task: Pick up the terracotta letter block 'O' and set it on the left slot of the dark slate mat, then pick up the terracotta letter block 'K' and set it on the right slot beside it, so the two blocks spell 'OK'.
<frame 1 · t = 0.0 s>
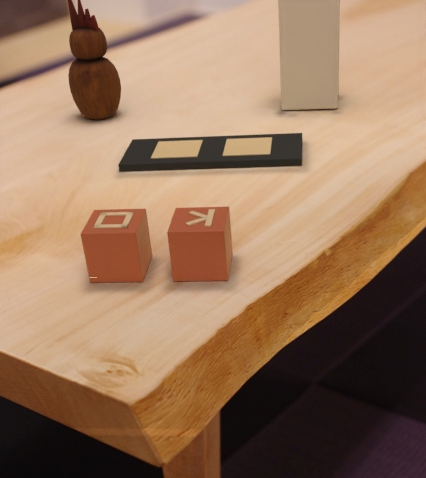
milk carton: (310, 103, 97), on the table
letter K: (203, 267, 62), on the table
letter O: (121, 268, 63), on the table
word mat: (212, 155, 84), on the table
wooden figurine: (99, 117, 99), on the table
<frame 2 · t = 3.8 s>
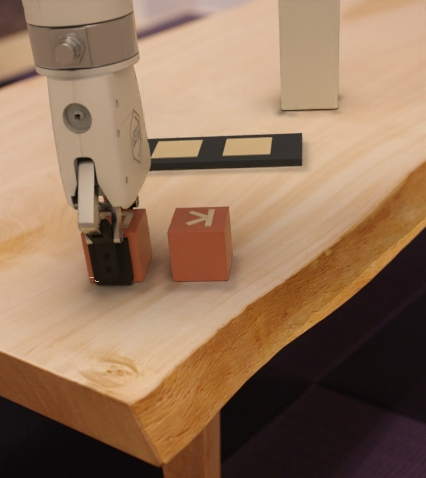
hand: (121, 265, 63), 0 cm above the table, tool pointing down, fingers closed on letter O, 4 cm apart
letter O: (121, 268, 63), on the table, touching gripper
everything else where it was.
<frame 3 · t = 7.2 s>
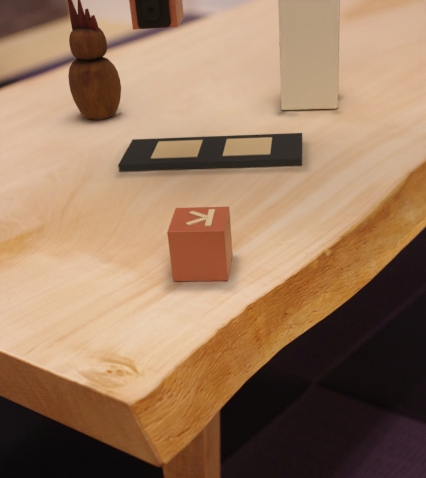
hand: (158, 19, 75), 15 cm above the table, tool pointing down, fingers closed on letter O, 4 cm apart
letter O: (158, 23, 75), point 15 cm above the table, touching gripper
everything else where it was.
when the fingers open (1 cm above the table, at t = 10.8 s): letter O stays where it is, resting on word mat.
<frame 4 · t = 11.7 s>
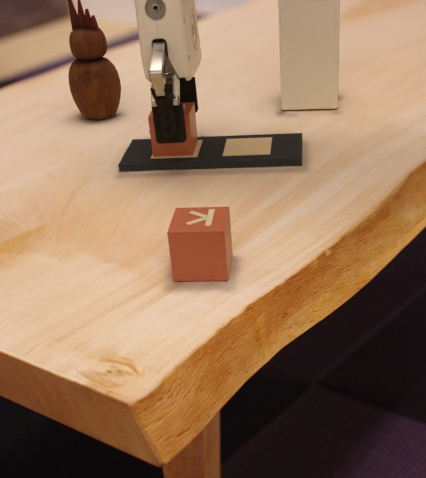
hand: (178, 126, 82), 3 cm above the table, tool pointing down, fingers open, 9 cm apart
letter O: (175, 148, 84), point 1 cm above the table, touching word mat
everything else where it was.
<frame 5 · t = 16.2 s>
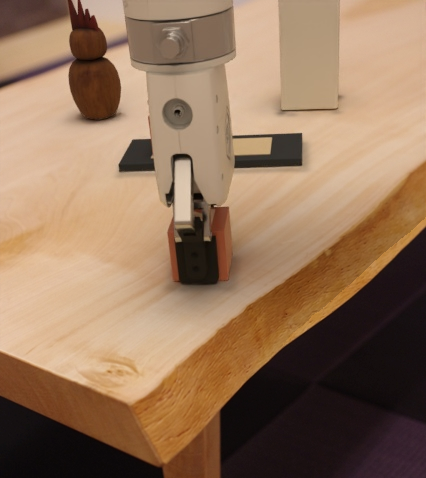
hand: (203, 263, 62), 0 cm above the table, tool pointing down, fingers closed on letter K, 4 cm apart
letter K: (203, 267, 62), on the table, touching gripper
everything else where it was.
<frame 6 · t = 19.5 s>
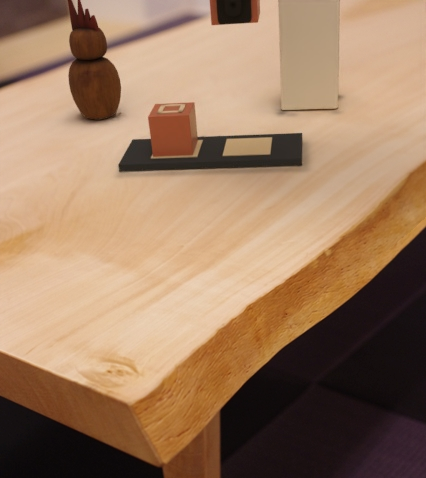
hand: (236, 15, 73), 15 cm above the table, tool pointing down, fingers closed on letter K, 4 cm apart
letter K: (236, 19, 73), point 15 cm above the table, touching gripper
everything else where it was.
when the fingers open (1 cm above the table, at t = 23.2 s): letter K stays where it is, resting on word mat.
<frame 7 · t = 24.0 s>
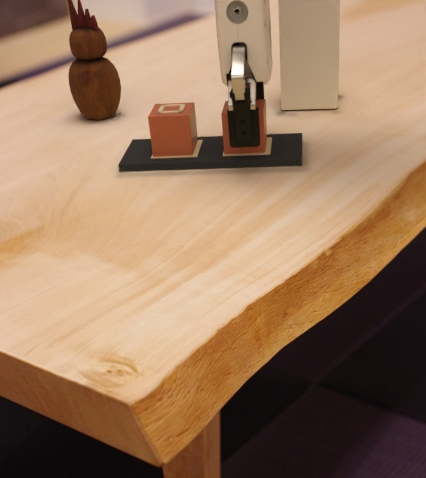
hand: (248, 130, 82), 3 cm above the table, tool pointing down, fingers open, 9 cm apart
letter K: (246, 146, 83), point 1 cm above the table, touching word mat
everything else where it was.
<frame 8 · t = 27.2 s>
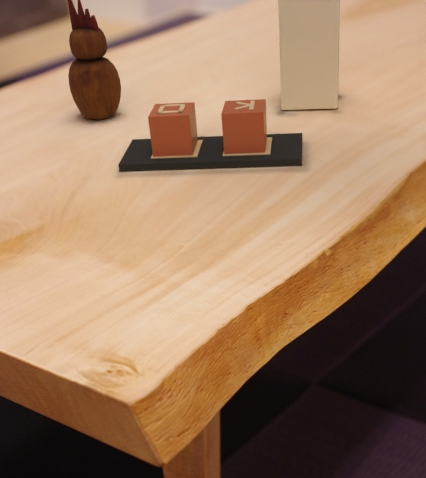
nothing on the table moved.
at the end: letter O 0.2 cm from the target spot on the word mat, point 0.9 cm above the word mat's base; letter K 0.2 cm from the target spot on the word mat, point 0.9 cm above the word mat's base; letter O tilted 0° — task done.
